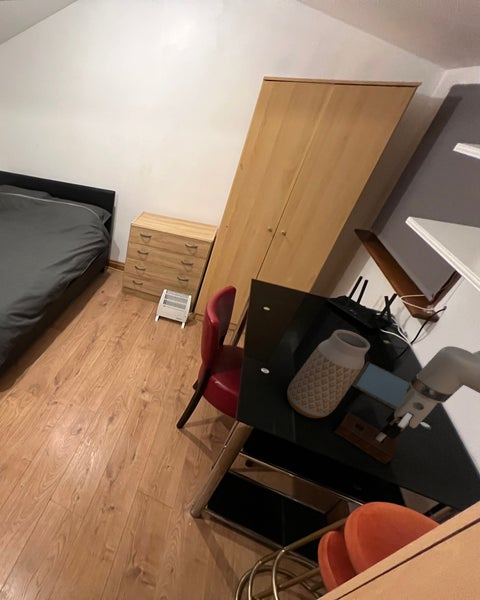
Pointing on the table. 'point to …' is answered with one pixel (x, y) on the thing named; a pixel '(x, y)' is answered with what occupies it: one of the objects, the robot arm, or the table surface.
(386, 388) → the tablet
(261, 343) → the table surface
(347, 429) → the holder
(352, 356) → the vase
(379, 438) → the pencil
